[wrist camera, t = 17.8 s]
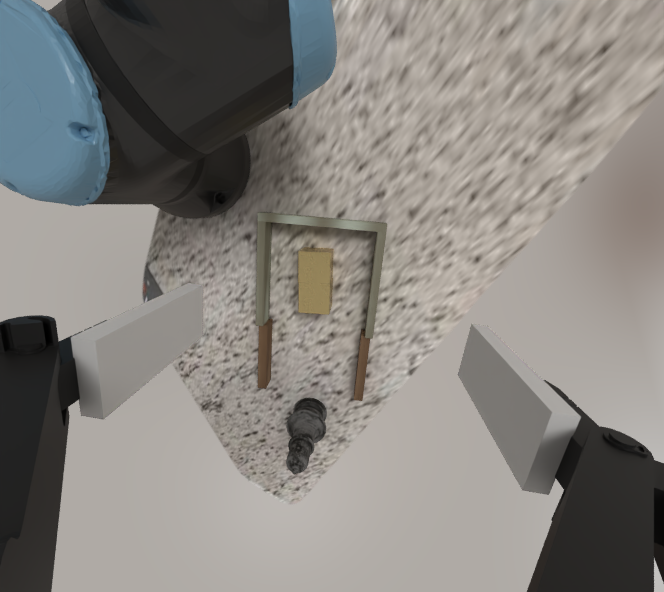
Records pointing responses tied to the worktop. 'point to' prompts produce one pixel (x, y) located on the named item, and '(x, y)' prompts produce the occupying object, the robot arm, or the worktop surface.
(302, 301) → the tan wooden cube
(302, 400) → the salt shaker
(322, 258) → the chip
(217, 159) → the robot arm
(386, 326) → the worktop surface
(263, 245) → the frame
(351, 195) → the worktop surface
